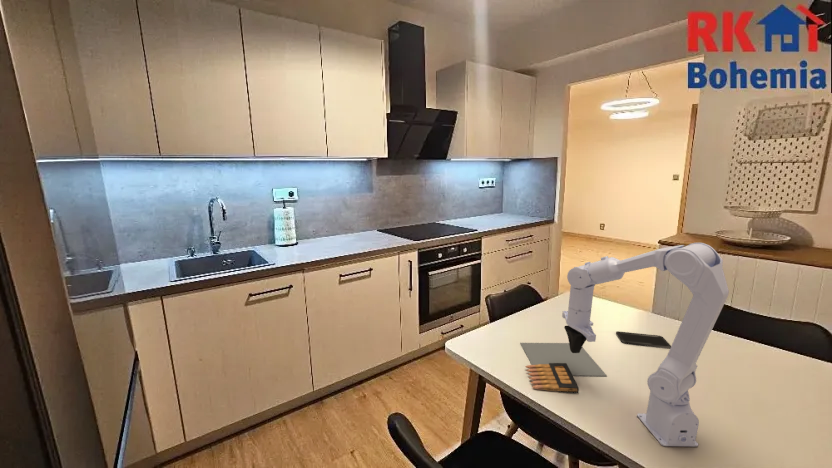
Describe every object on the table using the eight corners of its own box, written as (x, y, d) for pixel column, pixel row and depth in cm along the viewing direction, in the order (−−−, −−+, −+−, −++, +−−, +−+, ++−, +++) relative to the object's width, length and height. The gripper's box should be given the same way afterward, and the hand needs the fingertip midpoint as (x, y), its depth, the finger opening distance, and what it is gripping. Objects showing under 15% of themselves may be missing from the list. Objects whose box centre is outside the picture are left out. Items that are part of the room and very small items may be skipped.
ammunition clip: (565, 368, 103) (524, 367, 104) (566, 362, 102) (524, 362, 103) (578, 393, 92) (532, 392, 94) (579, 387, 92) (532, 386, 93)
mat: (606, 376, 100) (606, 375, 100) (537, 375, 100) (537, 374, 100) (578, 343, 117) (579, 343, 117) (520, 343, 118) (520, 342, 118)
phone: (615, 331, 125) (661, 335, 121) (614, 333, 125) (661, 338, 122) (622, 341, 117) (672, 347, 114) (622, 344, 117) (672, 350, 114)
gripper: (609, 319, 88) (603, 366, 91) (580, 296, 102) (575, 338, 105) (582, 319, 88) (577, 367, 91) (557, 297, 102) (553, 339, 105)
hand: (574, 351), depth 98 cm, fingers closed
